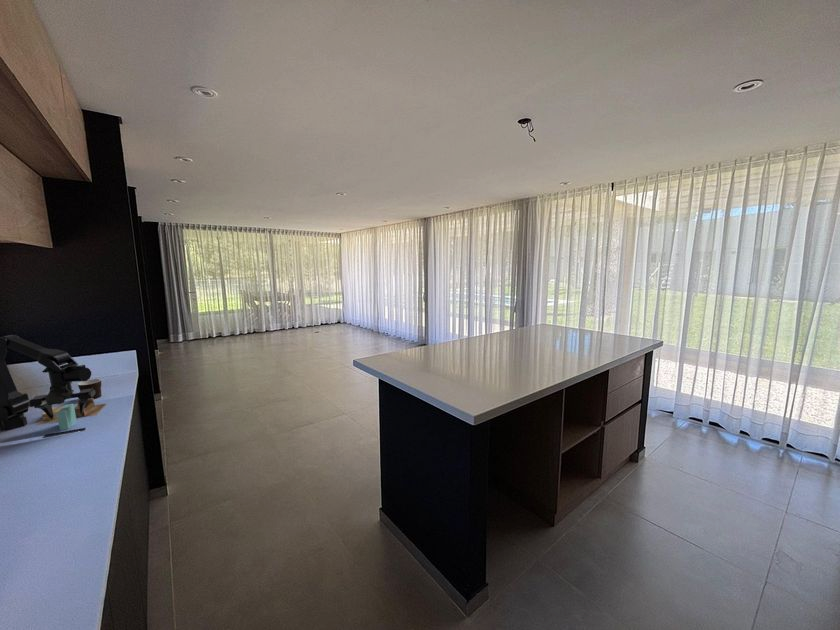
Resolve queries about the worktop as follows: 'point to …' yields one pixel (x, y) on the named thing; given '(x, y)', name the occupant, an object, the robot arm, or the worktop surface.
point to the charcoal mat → (63, 433)
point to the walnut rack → (88, 411)
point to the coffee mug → (91, 386)
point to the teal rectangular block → (66, 416)
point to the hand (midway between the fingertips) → (67, 416)
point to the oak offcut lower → (49, 418)
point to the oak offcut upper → (54, 409)
